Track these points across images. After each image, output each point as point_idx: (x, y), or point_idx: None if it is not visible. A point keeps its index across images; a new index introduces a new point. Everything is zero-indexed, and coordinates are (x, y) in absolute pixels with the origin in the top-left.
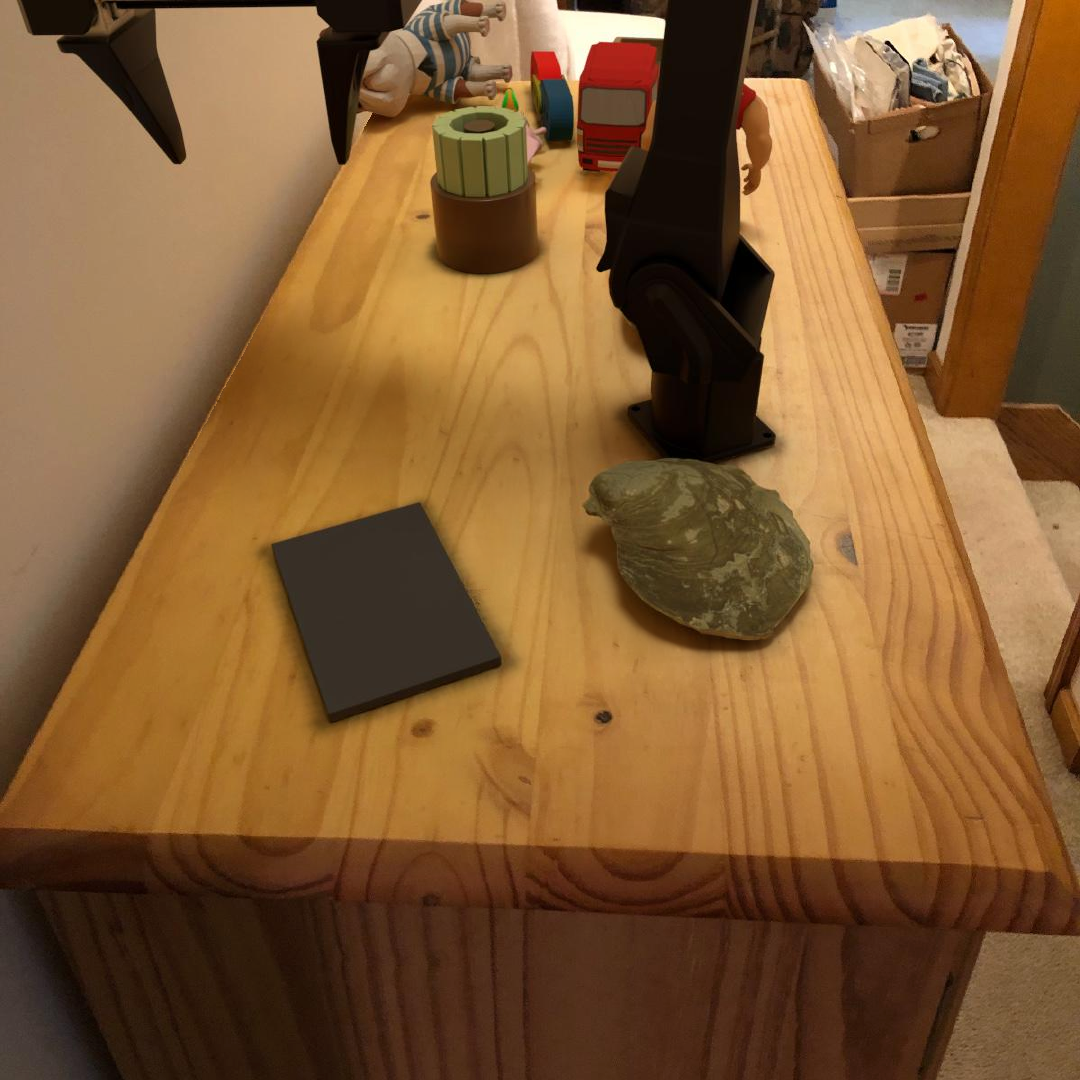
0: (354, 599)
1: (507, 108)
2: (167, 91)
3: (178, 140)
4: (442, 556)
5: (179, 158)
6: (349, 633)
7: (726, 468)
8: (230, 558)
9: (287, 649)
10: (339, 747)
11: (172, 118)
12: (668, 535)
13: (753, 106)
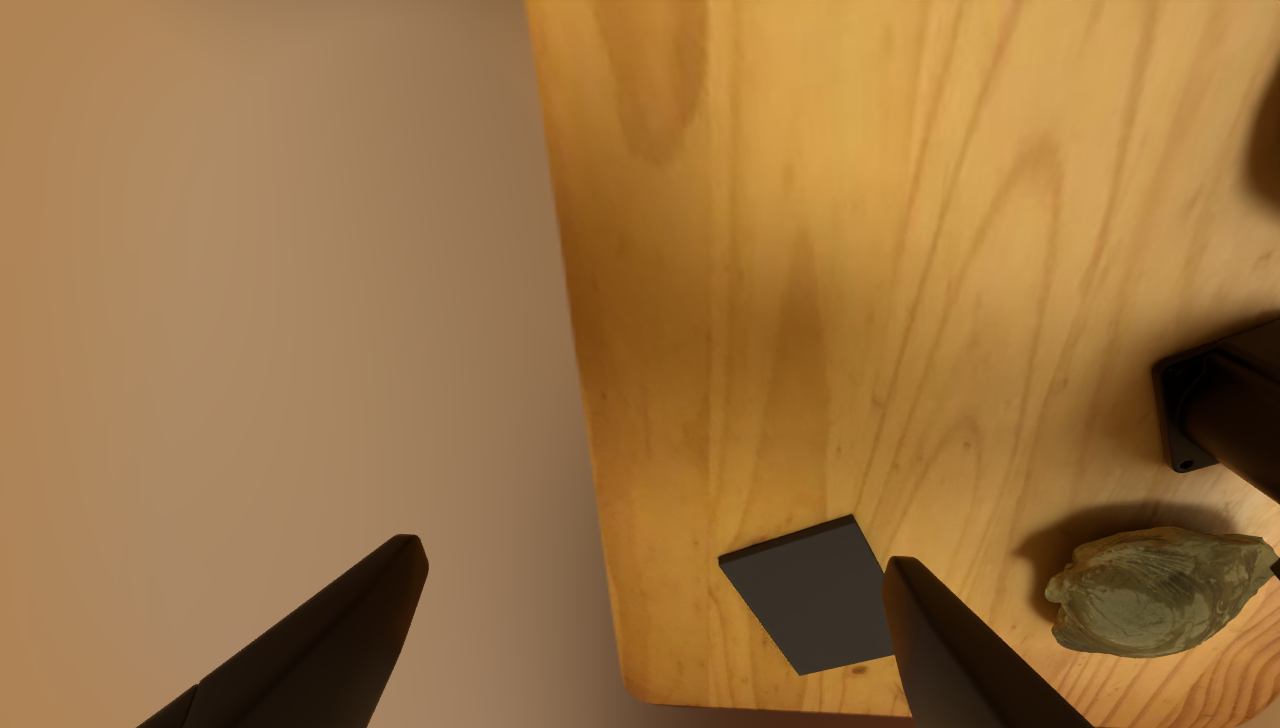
0: (804, 611)
1: None
2: (268, 714)
3: (395, 600)
4: (879, 577)
5: (422, 578)
6: (804, 633)
7: (1244, 551)
8: (682, 561)
9: (755, 626)
10: (805, 677)
11: (350, 655)
12: (1126, 655)
13: None
